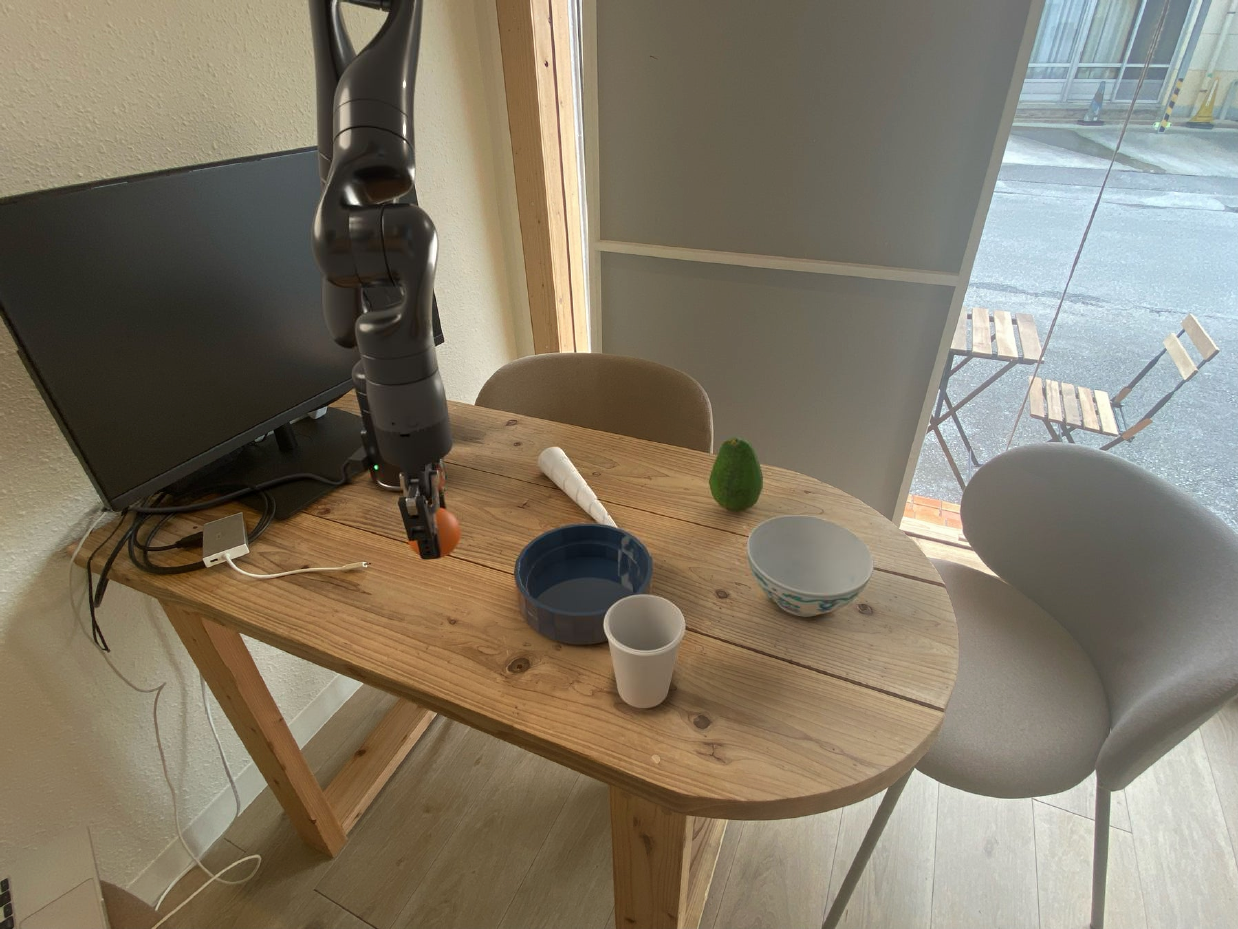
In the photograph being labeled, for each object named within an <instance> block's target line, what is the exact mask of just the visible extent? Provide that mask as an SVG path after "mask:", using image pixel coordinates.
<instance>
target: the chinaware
mask: <svg viewBox="0 0 1238 929" xmlns="http://www.w3.org/2000/svg"><path fill="white" fill-rule="evenodd" d="M746 554H747V561H748V564H749V567H750V572H751V573H752V576H753V578H754V580H755V582H756V583H757V585H758V587H759V588H760V589H761V591H762V592H763V593H764V594H765V595H766V596H767V597H768V598H769V599H770V600H772V601H773V603H775V604H777V605H778V606H779V607H780V608H781V609H782V610H784V611H785V612H787V613H789V614H791V615H794V616H798V617H803V618H805V617H806V618H807V617H808V618H809V617H814V616H818V615H823V614H828V613H832V612H834V611H837V610H840V609H841V608H842V609H843V608H844V607H845V606H847V605H848V604H850V603H851V602H853V601H854V600H855V599H856V598H857V597H858V596H859V595H860V594H861V593H862V592H863V591H864V589H865V588H866V586H867V585H868V583H869V581H870V580H871V578H872V576H873V572H874V570H875V560H874V556H873V553H872V551H871V549H870V548H869V546H868V545H867V544H866V542H865V541H863V539H862V538H861V537H860V536H858V535H857V534H856V533H855V532H853V531H852V530H850V529H848V528H847V527H845V526H843V525H841V524H838V523H836V522H834V521H832V520H828V519H825V518H821V517H817V516H812V515H803V514H802V515H801V514H789V515H787V514H786V515H781V516H775V517H773V518H770V519H767V520H765V521H763V522H761V523H759V524H758V525H756V526H755V527H754V528H753V529H752V531H751V532H750V534H749V536H748V538H747V541H746Z"/></svg>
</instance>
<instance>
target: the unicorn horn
mask: <svg viewBox="0 0 1238 929" xmlns="http://www.w3.org/2000/svg"><path fill="white" fill-rule="evenodd" d="M537 467H538V468H539V470H540V471H541V472H542V473H543V474H544V475H545V476H546V477H547V478H548V479H549V480H550V481H552V482H553V483H554V484H555V485H556V486H557V487H558V488H559V489H560V490H561V491H563V492H564V493H565V494H566V495H567V496H568V497H569V498H570V499H571V500H572V501H573V502H575V503H576V505H578V506H579V507H580V508H581V509H583V511H585V512H586V514H588V515H589V516H590V517H592V518H593V519H594V520H595V521H596V522H597V524H603V525H610V526H613V527H616V528H619V527H618V526H617V524H616V523H615V521H614V520H613V518H612V517H611V515H610V514H609V513H608V511H607V510H606V508H605V506H603V504H602V503H601V501H600V500H598V499H599V498H598V497H597V496H596V494H595V492H594V491H593V490H592V488H591V487H590V486H589V485H588V482H586V480H585V479H584V478H583V476H582V475H581V474H580V473H579V471H578V469H577V468H576V467H575V466H574V464H573V463H572V462H571V460H570V459H569V457H568V456H567V454H565V452H564V451H563V449H561V448H560V447H559V446H551V447H547V448H545V449H544V450H542V451H541V453H540V454H539V456H538V459H537Z"/></svg>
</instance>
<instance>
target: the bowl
mask: <svg viewBox="0 0 1238 929" xmlns="http://www.w3.org/2000/svg"><path fill="white" fill-rule="evenodd" d="M514 563H515V564H514V568H513V569H514V570H513V579H514V586H515V588H514V589H515V596H516V603H517V606H518V610H519V614H520V616H521V618H522V619H523V620H524V622H525V623H526V624H527V626H528V627H530V628H531V629H533V630H534V631H535V632H536V633H538V634H539V635H540V636H543V637H546V638H547V639H550V640H553V641H555V642H557V643H558V642H559V643H564V644H568V645H595V644H600V643H605V642H609V641H608V638H607V636H606V634H605V631H604V618H605V615H606V613H607V612H608V610H609V609H610V608H611V606H612V605H614V604H615V603H616V602H618V601H619V600H621V599H623V598H626V597H629V596H633V595H641V594H646V595H654V562H653V556H652V555H651V552H650V551H649V550H648V548H647V546H646V545H645V544H644V543H643V542H642V541H641V540H640V539H639V538H638V537H637V536H635V535H633V534H632V533H631V532H628V531H626V530H624V529H622V528H619V527H618V528H616V527H613V526H610V525H603V524H600V523H596V522H594V523H593V522H584V523H583V522H582V523H580V522H579V523H572V524H567V525H561V526H558V527H555V528H553V529H549V530H547V531H545V532H543V533H541V534H540V535H538V536H536V537H534V538H533V539H531V540H530V541H529V542H528V543H527V544H526V545H525V546H524V547H523V548H522V549H521V551H520V553H519V554H518V556H517V558H516V560H515V562H514Z"/></svg>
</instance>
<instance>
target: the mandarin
mask: <svg viewBox="0 0 1238 929" xmlns="http://www.w3.org/2000/svg"><path fill="white" fill-rule="evenodd" d="M446 509H447V508H446ZM446 509H443V508H440V509H439V510H438V511H437V512H436V523H437V527H438V530H437V532H438V537H439V542H440V547H441V556H440V558H439V559H442V558H445V557H446V556H448V555H450V554H451V553H453V551H454V550H455V549H456V548H457V546H458V545H459V542H460V539H461V531H462V530H461V526H460V523H459V521H458V518H457V517H456V516H455V515H454V514H453V512H451V511H449V509H447V510H446ZM406 539H407V543H408V545H409V547H410V549H411V550H412V551H413V552H414V553H415V554H416V555H418V556H419V557H420V553H419V548H418V544H417V541H409V540H408V537H407V536H406Z"/></svg>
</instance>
